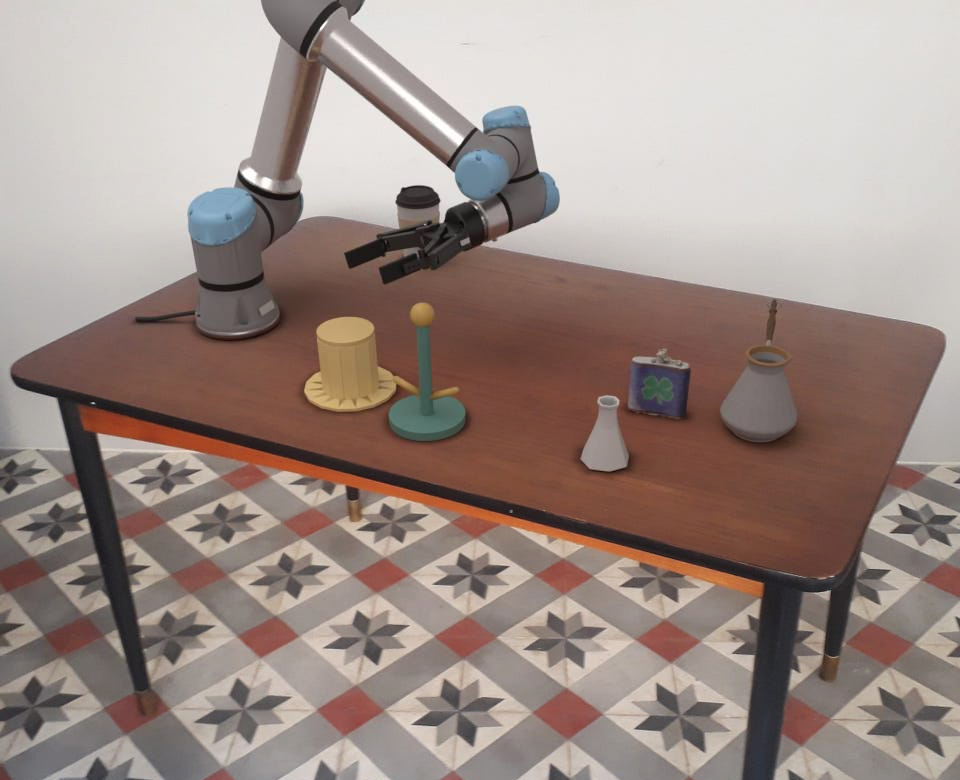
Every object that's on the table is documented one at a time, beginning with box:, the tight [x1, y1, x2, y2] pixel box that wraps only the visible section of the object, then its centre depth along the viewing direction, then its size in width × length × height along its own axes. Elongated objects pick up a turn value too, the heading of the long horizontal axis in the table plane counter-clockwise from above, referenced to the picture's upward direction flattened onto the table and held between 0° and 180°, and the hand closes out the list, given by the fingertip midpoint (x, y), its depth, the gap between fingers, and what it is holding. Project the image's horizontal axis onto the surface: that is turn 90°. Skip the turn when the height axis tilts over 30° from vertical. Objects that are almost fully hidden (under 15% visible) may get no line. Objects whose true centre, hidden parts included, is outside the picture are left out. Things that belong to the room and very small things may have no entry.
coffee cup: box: [395, 184, 442, 257], centre depth 212 cm, size 9×9×15 cm
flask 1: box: [580, 394, 630, 472], centre depth 151 cm, size 7×7×10 cm
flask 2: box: [627, 348, 692, 420], centre depth 162 cm, size 9×3×11 cm, turn 71°
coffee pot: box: [719, 299, 798, 443], centre depth 160 cm, size 21×12×15 cm, turn 164°
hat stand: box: [388, 301, 467, 442], centre depth 158 cm, size 12×12×20 cm
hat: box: [303, 316, 398, 413], centre depth 170 cm, size 15×15×11 cm
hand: (363, 268), depth 167 cm, fingers open, 13 cm apart
